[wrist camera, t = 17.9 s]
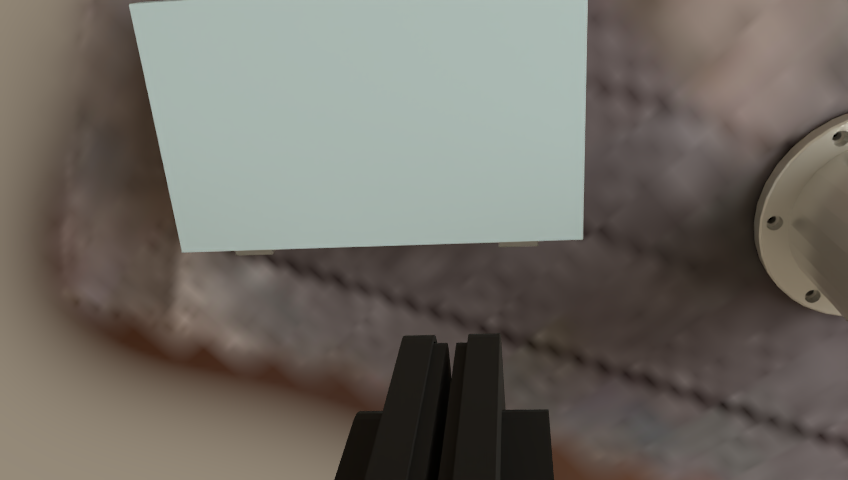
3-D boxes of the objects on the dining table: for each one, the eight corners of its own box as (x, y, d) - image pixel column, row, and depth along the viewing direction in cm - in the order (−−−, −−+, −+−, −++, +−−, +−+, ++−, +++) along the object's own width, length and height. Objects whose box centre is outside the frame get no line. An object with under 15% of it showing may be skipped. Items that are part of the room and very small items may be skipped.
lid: (584, -29, 30) (588, -28, 29) (579, 230, 35) (582, 239, 34) (140, 2, 32) (128, 3, 31) (191, 243, 37) (182, 252, 36)
